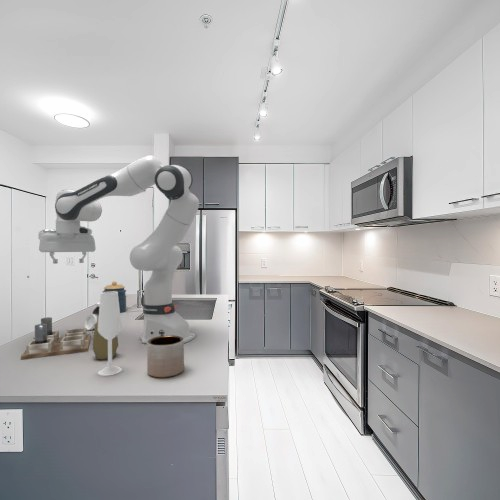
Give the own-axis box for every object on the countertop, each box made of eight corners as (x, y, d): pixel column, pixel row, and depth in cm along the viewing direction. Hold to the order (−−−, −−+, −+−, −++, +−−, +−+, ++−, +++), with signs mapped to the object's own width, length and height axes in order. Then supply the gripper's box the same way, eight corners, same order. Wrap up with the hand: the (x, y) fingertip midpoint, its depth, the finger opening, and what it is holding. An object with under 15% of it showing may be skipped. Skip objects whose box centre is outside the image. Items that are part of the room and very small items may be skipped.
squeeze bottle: (93, 362, 104) (92, 307, 103) (92, 355, 111) (91, 303, 111) (119, 358, 107) (119, 305, 107) (117, 351, 115) (116, 301, 114)
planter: (184, 377, 92) (184, 344, 92) (145, 380, 90) (144, 346, 90) (184, 363, 103) (183, 334, 103) (149, 366, 101) (148, 336, 101)
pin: (49, 349, 114) (49, 324, 114) (39, 352, 111) (39, 326, 110) (42, 348, 115) (42, 323, 115) (32, 351, 112) (32, 325, 112)
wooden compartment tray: (90, 336, 133) (90, 312, 133) (87, 351, 115) (87, 323, 115) (34, 343, 125) (33, 317, 125) (20, 359, 107) (20, 329, 107)
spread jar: (119, 325, 153) (118, 301, 153) (106, 331, 142) (105, 305, 142) (95, 324, 154) (95, 300, 154) (80, 330, 143) (80, 305, 143)
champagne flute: (124, 372, 96) (123, 292, 95) (99, 377, 92) (98, 294, 92) (119, 365, 101) (118, 290, 101) (96, 369, 98) (95, 292, 97)
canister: (97, 313, 180) (97, 282, 180) (111, 309, 193) (110, 279, 192) (118, 314, 178) (118, 282, 177) (130, 309, 190) (130, 280, 190)
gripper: (36, 228, 124) (37, 264, 124) (94, 229, 132) (95, 262, 133) (40, 229, 130) (40, 263, 130) (95, 230, 138) (95, 262, 138)
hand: (68, 263), depth 131 cm, fingers open, 8 cm apart
